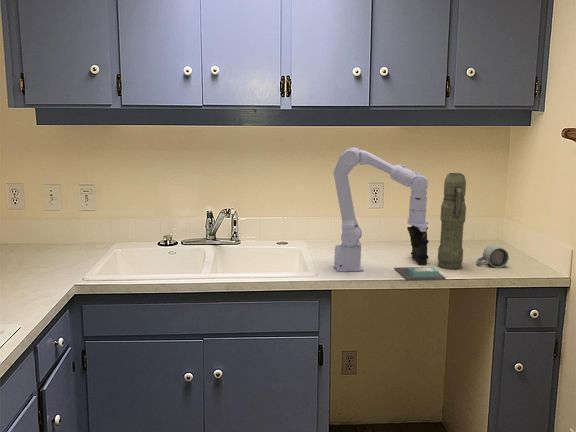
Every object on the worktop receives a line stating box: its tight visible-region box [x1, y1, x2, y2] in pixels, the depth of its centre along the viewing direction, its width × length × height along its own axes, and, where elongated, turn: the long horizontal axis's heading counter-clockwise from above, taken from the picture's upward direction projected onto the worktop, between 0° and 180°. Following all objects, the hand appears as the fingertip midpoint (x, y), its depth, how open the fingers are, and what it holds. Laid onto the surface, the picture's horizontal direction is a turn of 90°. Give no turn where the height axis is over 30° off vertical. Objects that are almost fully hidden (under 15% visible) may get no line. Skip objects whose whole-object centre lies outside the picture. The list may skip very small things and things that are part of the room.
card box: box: [408, 266, 440, 278], centre depth 203 cm, size 9×2×6 cm
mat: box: [393, 266, 447, 281], centre depth 206 cm, size 14×14×1 cm
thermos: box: [437, 172, 467, 271], centre depth 214 cm, size 9×12×35 cm
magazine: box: [410, 226, 429, 266], centre depth 223 cm, size 4×13×15 cm, turn 3°
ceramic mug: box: [475, 244, 510, 269], centre depth 219 cm, size 11×8×8 cm
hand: (415, 247), depth 205 cm, fingers closed
